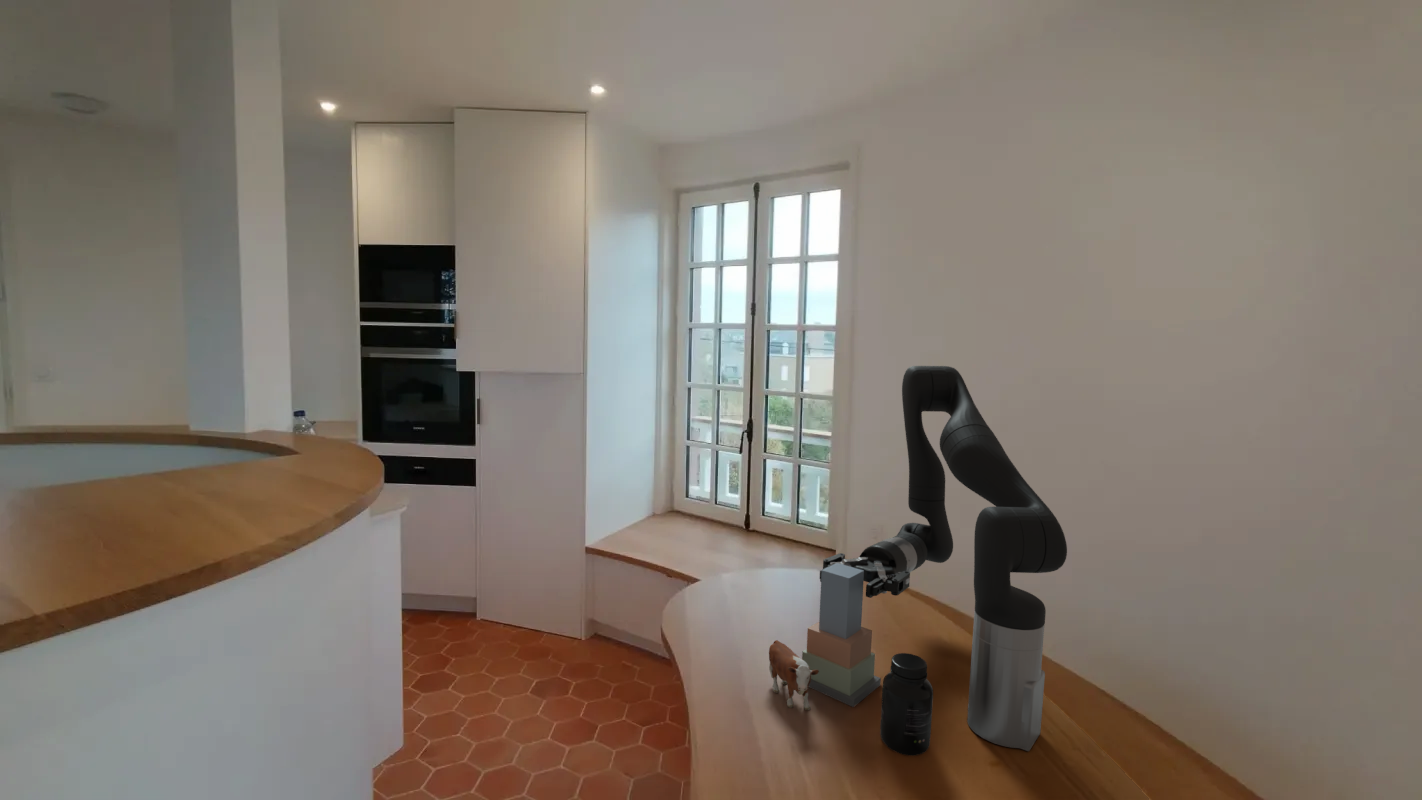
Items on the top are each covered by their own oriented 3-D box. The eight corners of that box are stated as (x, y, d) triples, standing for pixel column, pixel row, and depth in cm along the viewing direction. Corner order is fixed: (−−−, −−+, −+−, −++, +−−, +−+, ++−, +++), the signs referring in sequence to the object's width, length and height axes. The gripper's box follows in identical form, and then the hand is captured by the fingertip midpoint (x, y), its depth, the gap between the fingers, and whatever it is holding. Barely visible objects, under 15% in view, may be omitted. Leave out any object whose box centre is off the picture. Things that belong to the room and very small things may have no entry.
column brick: (861, 629, 102) (864, 570, 101) (845, 639, 99) (848, 578, 98) (834, 619, 106) (837, 562, 105) (818, 629, 102) (821, 570, 101)
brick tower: (880, 685, 102) (883, 631, 102) (853, 707, 96) (856, 650, 95) (823, 661, 110) (825, 611, 109) (794, 680, 103) (796, 627, 102)
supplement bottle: (870, 731, 90) (874, 651, 89) (910, 724, 92) (915, 646, 91) (897, 761, 83) (902, 676, 82) (940, 753, 85) (945, 669, 84)
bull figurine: (795, 727, 90) (797, 673, 90) (763, 679, 103) (765, 632, 103) (822, 723, 91) (825, 670, 91) (787, 676, 104) (789, 629, 104)
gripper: (855, 532, 119) (808, 551, 106) (927, 550, 109) (885, 573, 97) (853, 570, 119) (806, 594, 107) (925, 591, 110) (883, 619, 98)
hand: (844, 584), depth 102 cm, fingers open, 8 cm apart
